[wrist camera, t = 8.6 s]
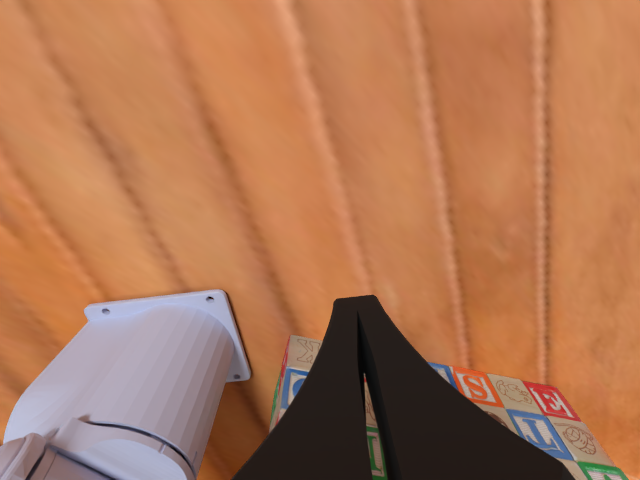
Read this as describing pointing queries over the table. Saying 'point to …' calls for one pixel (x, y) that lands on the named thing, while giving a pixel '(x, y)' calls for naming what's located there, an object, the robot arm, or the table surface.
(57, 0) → the table surface
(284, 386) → the stack of blocks
